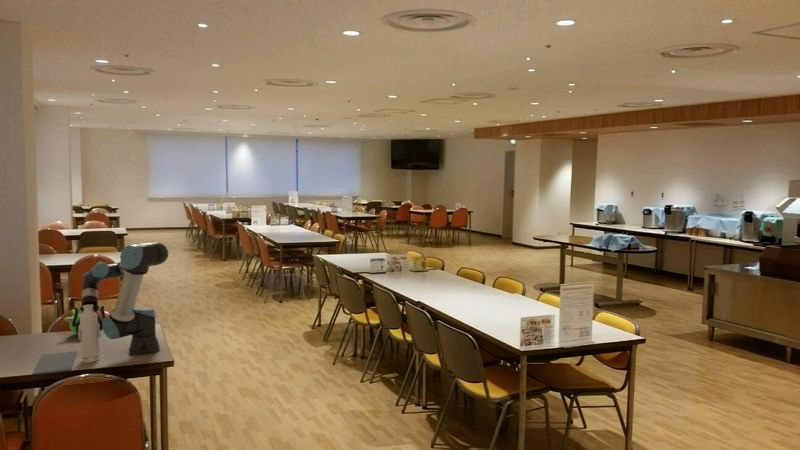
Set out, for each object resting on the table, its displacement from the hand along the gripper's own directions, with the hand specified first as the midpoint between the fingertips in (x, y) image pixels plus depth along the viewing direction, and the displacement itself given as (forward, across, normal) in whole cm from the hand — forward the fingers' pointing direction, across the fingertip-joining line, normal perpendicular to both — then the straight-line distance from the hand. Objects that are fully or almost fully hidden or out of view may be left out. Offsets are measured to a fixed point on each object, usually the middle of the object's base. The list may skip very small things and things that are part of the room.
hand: (89, 336), depth 310 cm
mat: (+7, +16, -11) cm, 20 cm away
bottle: (+7, 0, -11) cm, 13 cm away
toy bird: (-32, +6, -50) cm, 60 cm away
